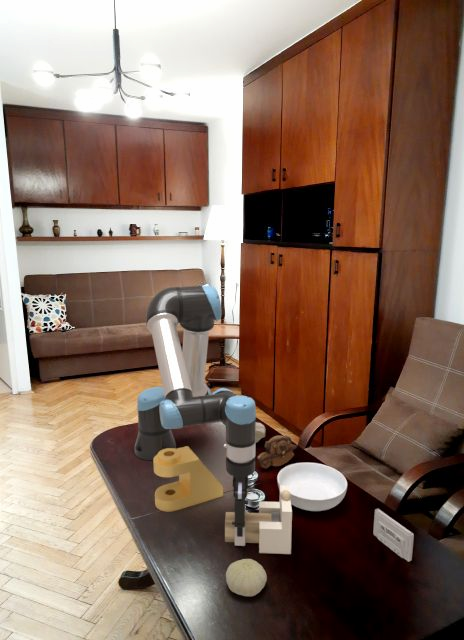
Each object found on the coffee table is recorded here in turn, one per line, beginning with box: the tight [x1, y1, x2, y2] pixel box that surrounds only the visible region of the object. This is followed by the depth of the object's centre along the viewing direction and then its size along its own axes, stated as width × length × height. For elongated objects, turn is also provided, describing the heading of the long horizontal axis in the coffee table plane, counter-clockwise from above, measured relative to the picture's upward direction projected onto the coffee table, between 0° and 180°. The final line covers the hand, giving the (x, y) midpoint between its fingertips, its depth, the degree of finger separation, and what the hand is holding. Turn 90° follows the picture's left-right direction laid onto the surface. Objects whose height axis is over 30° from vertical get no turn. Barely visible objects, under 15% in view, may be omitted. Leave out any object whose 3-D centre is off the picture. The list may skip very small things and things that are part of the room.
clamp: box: [152, 445, 224, 513], centre depth 136 cm, size 20×9×16 cm, turn 118°
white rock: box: [255, 421, 267, 443], centre depth 169 cm, size 12×8×10 cm
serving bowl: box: [276, 462, 348, 512], centre depth 136 cm, size 21×21×7 cm
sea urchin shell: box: [225, 558, 268, 597], centre depth 103 cm, size 9×8×8 cm
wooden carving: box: [256, 435, 298, 469], centre depth 155 cm, size 16×5×10 cm, turn 128°
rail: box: [224, 511, 280, 544], centre depth 119 cm, size 4×14×6 cm, turn 87°
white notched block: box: [258, 486, 293, 555], centre depth 118 cm, size 11×8×14 cm
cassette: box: [373, 508, 415, 563], centre depth 115 cm, size 12×2×8 cm, turn 29°
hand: (240, 535), depth 120 cm, fingers open, 6 cm apart
